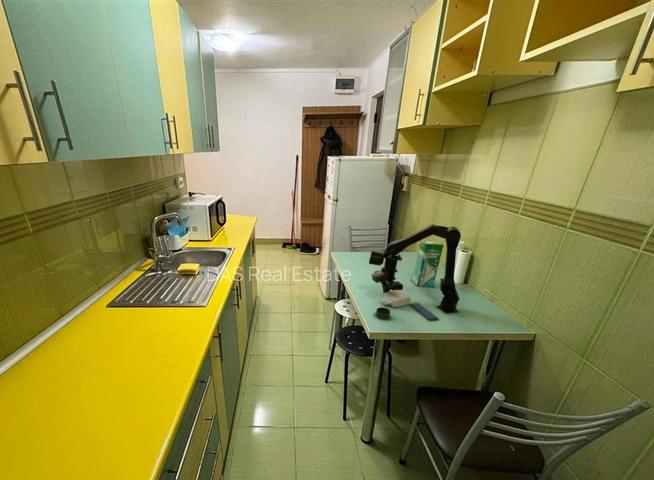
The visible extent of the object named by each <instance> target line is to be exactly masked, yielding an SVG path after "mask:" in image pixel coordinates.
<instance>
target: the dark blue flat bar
mask: <svg viewBox="0 0 654 480" xmlns="http://www.w3.org/2000/svg"><path fill="white" fill-rule="evenodd" d="M409 306H410V307H411V308H413V309H414V310H415V311H417V313H419V314H420V315H422V316H423V317H424V318H426V320H428V321H438V320H439V317H437V316H436V315H435V314H433V313H432V312H431V311H429V310H428V309H427V308H425V307H423V305H421V304H420V303H418V302H416V303H410V304H409Z"/></svg>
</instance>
